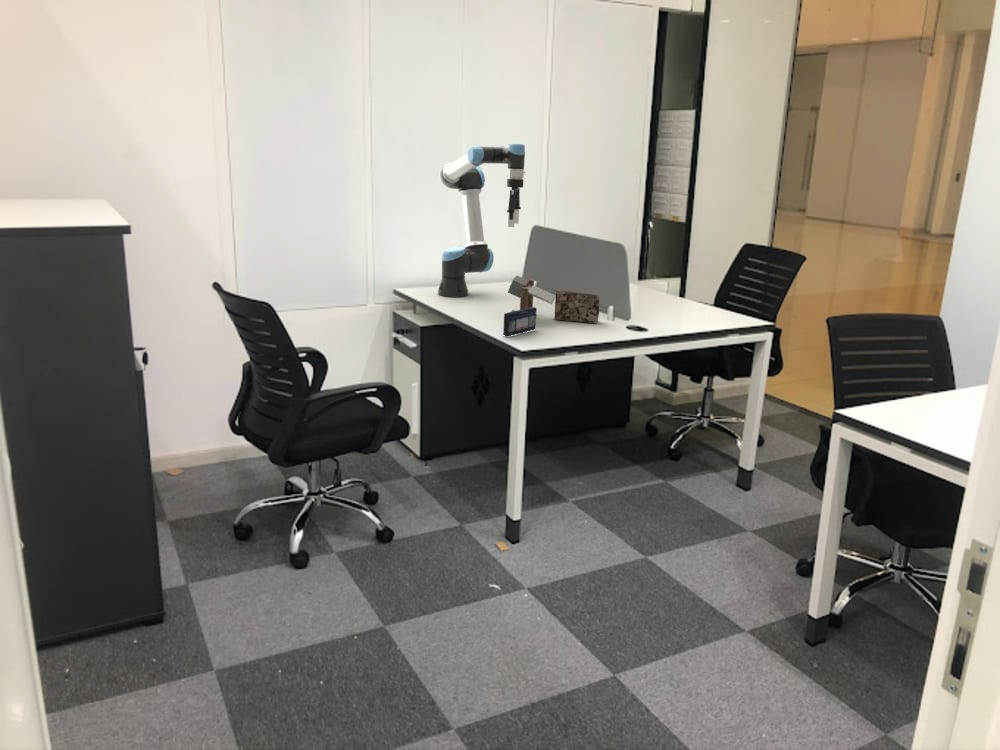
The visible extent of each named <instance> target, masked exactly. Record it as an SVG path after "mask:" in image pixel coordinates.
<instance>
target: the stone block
mask: <svg viewBox="0 0 1000 750" xmlns="http://www.w3.org/2000/svg"><path fill="white" fill-rule="evenodd" d="M555 295H556V297H555V299H554V301H555V302H554V303H555V304H554V318H553V319H554V320H558V321H559V320H560V321H566V322H567V321H568V322H579V323H586V324H593V323H596V324H597V323H598V322H599V317H600V304H601V296H600V294H599V293H598V292H595V293H594V292H587V291H586V292H585V291H571V290H569V291H568V290H556V291H555Z"/></svg>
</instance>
